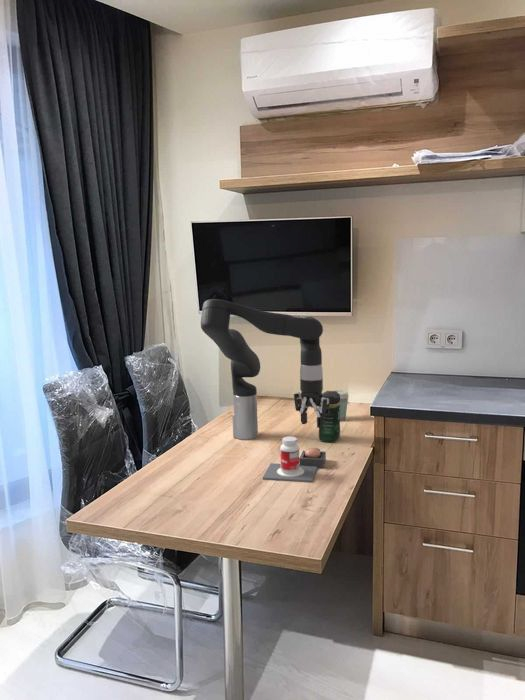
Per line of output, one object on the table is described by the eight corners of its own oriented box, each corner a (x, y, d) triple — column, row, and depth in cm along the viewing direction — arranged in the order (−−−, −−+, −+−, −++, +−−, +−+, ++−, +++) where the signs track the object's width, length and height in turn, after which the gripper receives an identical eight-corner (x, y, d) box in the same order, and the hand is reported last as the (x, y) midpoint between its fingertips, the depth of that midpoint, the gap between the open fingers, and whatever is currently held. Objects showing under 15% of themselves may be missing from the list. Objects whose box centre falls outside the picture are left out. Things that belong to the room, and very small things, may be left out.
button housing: (299, 466, 198) (299, 458, 197) (303, 458, 205) (302, 450, 205) (323, 468, 196) (323, 459, 196) (325, 459, 204) (325, 451, 203)
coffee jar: (337, 443, 220) (337, 395, 217) (317, 442, 223) (316, 394, 220) (342, 436, 229) (342, 389, 226) (322, 434, 232) (321, 388, 229)
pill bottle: (278, 468, 194) (277, 436, 193) (295, 466, 196) (295, 434, 194) (284, 475, 189) (284, 442, 187) (302, 473, 190) (302, 440, 189)
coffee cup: (352, 418, 252) (352, 391, 250) (341, 423, 246) (340, 395, 244) (336, 415, 258) (336, 389, 256) (324, 419, 252) (324, 392, 250)
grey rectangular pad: (262, 479, 188) (262, 477, 188) (270, 464, 200) (270, 462, 200) (312, 482, 184) (312, 480, 184) (317, 467, 197) (317, 465, 197)
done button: (304, 457, 198) (304, 452, 198) (306, 452, 203) (306, 447, 203) (319, 458, 197) (319, 452, 197) (321, 453, 202) (321, 447, 202)
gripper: (287, 376, 198) (288, 424, 201) (321, 381, 188) (322, 432, 191) (301, 372, 203) (302, 419, 206) (335, 377, 194) (335, 426, 196)
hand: (312, 425), depth 198 cm, fingers open, 6 cm apart
